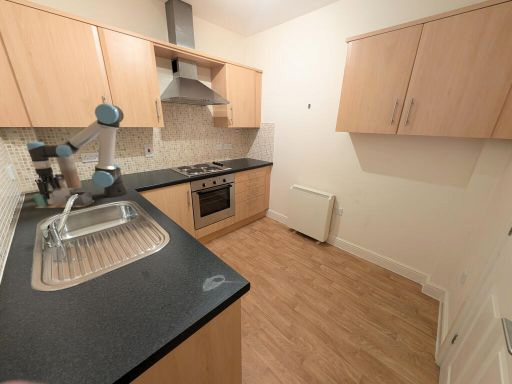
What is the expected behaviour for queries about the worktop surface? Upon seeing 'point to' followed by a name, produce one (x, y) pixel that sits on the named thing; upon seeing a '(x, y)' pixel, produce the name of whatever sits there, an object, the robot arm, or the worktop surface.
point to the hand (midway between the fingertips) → (55, 201)
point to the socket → (39, 200)
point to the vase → (69, 171)
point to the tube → (60, 195)
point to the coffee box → (60, 181)
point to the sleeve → (81, 198)
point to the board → (61, 206)
